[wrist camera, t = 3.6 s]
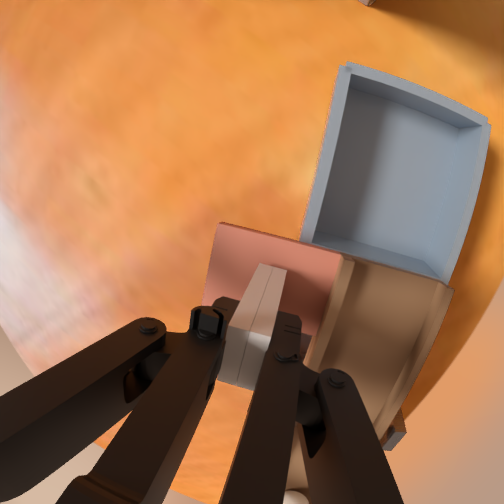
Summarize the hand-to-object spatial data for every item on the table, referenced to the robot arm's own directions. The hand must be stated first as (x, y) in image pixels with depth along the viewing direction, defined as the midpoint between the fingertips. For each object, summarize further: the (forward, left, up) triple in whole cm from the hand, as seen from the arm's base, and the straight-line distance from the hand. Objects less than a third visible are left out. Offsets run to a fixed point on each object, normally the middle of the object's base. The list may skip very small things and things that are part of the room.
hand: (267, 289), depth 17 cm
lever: (+9, +4, 0) cm, 10 cm away
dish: (-8, +7, -9) cm, 14 cm away
